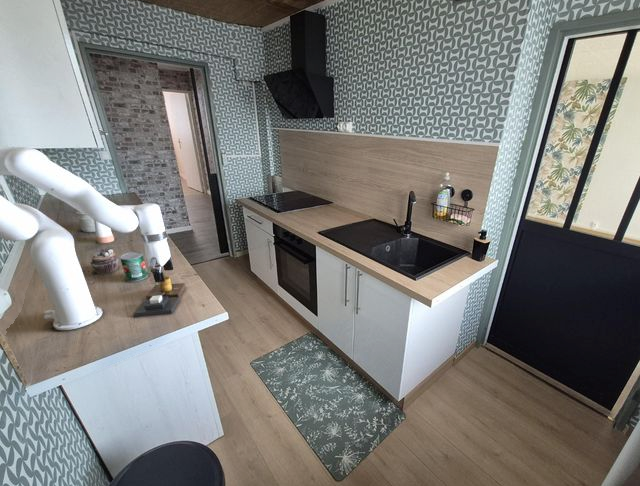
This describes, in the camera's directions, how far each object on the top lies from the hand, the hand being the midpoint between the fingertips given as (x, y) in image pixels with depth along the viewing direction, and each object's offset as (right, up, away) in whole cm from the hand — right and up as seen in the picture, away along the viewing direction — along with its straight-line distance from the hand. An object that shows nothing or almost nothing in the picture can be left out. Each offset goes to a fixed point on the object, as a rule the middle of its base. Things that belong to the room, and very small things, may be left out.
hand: (164, 275), depth 117 cm
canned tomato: (-22, -3, +14) cm, 26 cm away
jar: (-88, +22, +65) cm, 112 cm away
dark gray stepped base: (+2, -12, -6) cm, 13 cm away
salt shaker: (-68, +14, +49) cm, 85 cm away
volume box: (-1, -8, +3) cm, 9 cm away
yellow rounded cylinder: (-1, -6, +2) cm, 6 cm away
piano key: (+2, -9, -7) cm, 12 cm away
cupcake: (-40, 0, +19) cm, 44 cm away
